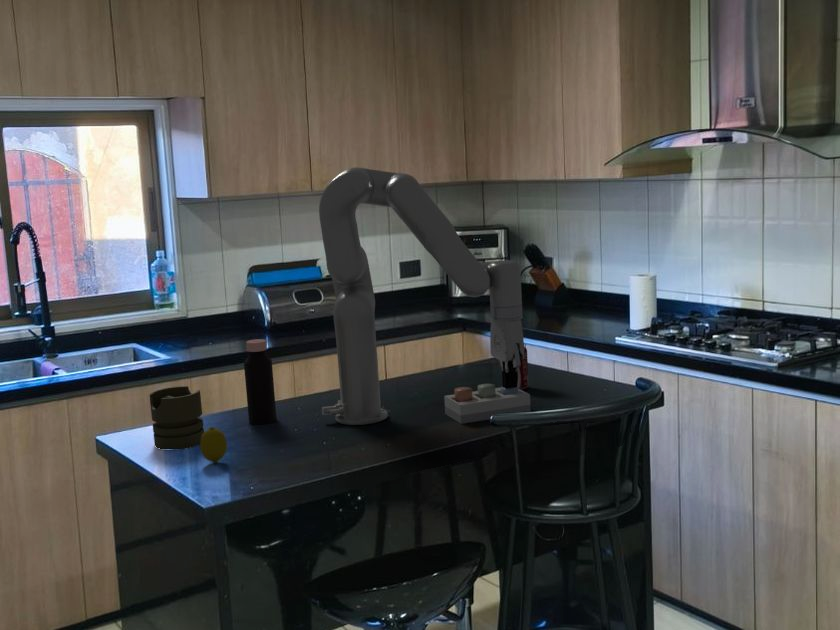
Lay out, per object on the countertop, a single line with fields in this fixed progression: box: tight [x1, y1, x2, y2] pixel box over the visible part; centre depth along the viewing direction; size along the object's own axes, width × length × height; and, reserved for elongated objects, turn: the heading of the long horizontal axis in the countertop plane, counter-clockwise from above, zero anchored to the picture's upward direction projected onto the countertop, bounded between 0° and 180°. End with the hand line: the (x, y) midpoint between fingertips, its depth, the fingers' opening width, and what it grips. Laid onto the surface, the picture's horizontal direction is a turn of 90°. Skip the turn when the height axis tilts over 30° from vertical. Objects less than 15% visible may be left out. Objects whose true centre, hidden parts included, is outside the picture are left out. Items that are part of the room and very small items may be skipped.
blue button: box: [500, 385, 518, 395], centre depth 244 cm, size 4×4×3 cm
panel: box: [443, 387, 532, 424], centre depth 242 cm, size 18×10×4 cm, turn 110°
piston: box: [149, 385, 205, 450], centre depth 232 cm, size 11×12×11 cm
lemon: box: [199, 426, 228, 464], centre depth 215 cm, size 6×6×8 cm
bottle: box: [243, 338, 278, 425], centre depth 246 cm, size 7×7×20 cm
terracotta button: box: [454, 386, 473, 402], centre depth 240 cm, size 4×4×3 cm
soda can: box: [512, 345, 530, 391], centre depth 264 cm, size 7×7×12 cm
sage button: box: [477, 383, 496, 399], centre depth 242 cm, size 4×4×3 cm
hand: (510, 387), depth 244 cm, fingers closed
